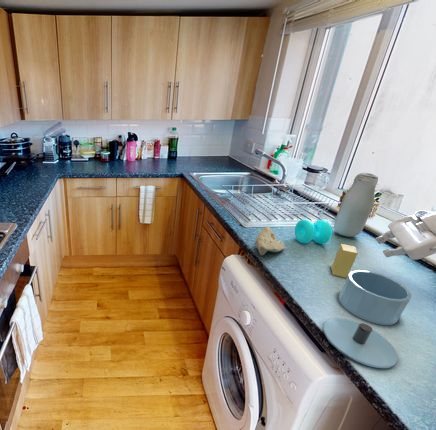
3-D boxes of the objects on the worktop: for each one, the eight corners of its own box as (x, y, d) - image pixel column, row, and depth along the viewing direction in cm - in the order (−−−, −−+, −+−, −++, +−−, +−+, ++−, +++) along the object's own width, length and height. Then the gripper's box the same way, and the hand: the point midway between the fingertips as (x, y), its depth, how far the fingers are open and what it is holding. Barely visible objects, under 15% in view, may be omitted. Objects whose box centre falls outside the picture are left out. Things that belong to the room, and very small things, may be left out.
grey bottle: (351, 231, 130) (375, 171, 118) (363, 241, 121) (391, 178, 109) (326, 228, 132) (348, 169, 120) (336, 238, 123) (361, 176, 111)
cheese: (267, 245, 120) (243, 224, 117) (284, 238, 116) (260, 216, 112) (270, 274, 110) (245, 252, 106) (289, 267, 105) (263, 244, 101)
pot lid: (386, 335, 75) (395, 319, 73) (404, 381, 63) (416, 363, 61) (320, 314, 82) (326, 298, 79) (325, 352, 70) (333, 335, 68)
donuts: (290, 235, 124) (297, 215, 120) (314, 236, 124) (321, 215, 120) (303, 247, 115) (311, 225, 111) (328, 248, 115) (337, 226, 111)
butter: (344, 270, 101) (355, 246, 97) (346, 278, 97) (357, 253, 93) (330, 267, 103) (340, 243, 99) (332, 274, 99) (342, 249, 95)
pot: (390, 301, 87) (402, 279, 83) (404, 332, 76) (419, 307, 73) (336, 287, 93) (345, 265, 89) (342, 313, 82) (353, 289, 79)
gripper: (460, 253, 75) (395, 272, 84) (430, 223, 91) (378, 241, 100) (446, 234, 75) (382, 254, 84) (418, 207, 91) (367, 227, 100)
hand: (380, 247), depth 92 cm, fingers open, 8 cm apart
